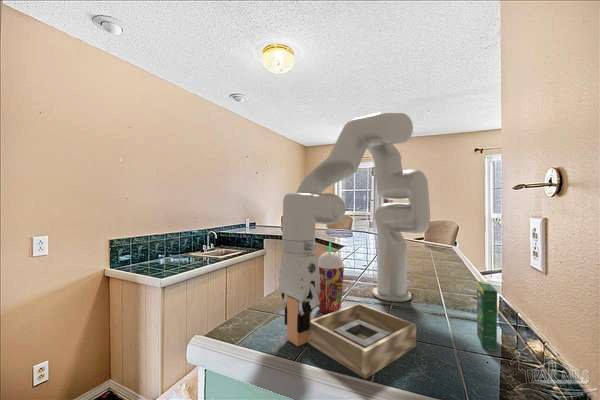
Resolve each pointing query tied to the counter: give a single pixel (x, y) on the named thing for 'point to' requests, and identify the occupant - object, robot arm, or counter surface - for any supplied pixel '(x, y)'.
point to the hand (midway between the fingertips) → (296, 326)
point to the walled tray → (362, 338)
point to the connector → (294, 323)
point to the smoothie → (330, 281)
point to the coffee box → (487, 315)
